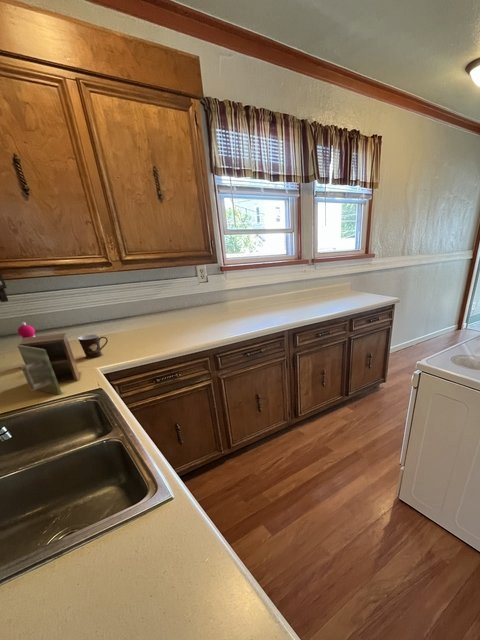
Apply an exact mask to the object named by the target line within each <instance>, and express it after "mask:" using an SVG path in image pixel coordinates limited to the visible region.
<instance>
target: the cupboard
mask: <svg viewBox="0 0 480 640" xmlns="http://www.w3.org/2000/svg"><path fill="white" fill-rule="evenodd" d="M19 345H22V346H28V347H34V348H40V349H45V350H46V352H47V355H48V358H49V360H50V363H51V366H52V368H53V371H54V374H55V376H56V379H57V382H58V384H59V385H61V384H67V383H73V382H79V378H80V372H79V368H78V366H77V362H76V359H75V356H74V354H73V351H72V348H71V345H70V342H69V340H68V336H67V333H66V332H64V333H56V334H55V333H54V334H46V335H38V336H35V337H28V338H24V339H23V340H22V339H21V341H20V342H19V344H18V346H19Z"/></svg>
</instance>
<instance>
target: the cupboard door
mask: <svg viewBox="0 0 480 640" xmlns="http://www.w3.org/2000/svg"><path fill="white" fill-rule="evenodd" d="M17 348H18V351H19V353H20V355H21V358H22V361H23V362H24V365H21V366H20V368H21V371H22V373H23V375H24V378H25V380H26V383H27V384H28V387H29V389H30V391H36V390H37V391H43V392H47V393H50V394H56V395H62V394H63V393H62V390H61V387H60V384H58V382H57V379H56V376H55V374H54V371H53V368H52V366H51V363H50V360H49V358H48V355H47V352H46V350H45V349H40V348H34V347H28V346H22V345H19V344H18V345H17Z"/></svg>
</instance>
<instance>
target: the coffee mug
mask: <svg viewBox="0 0 480 640" xmlns="http://www.w3.org/2000/svg"><path fill="white" fill-rule="evenodd" d="M101 339H105V343H104V344H103V345H102V346H101V344H100V342H101ZM77 340H78V342H79V344H80V346H81V349H82V351H83V353H84V355H85V357H86V358H87V359H96V358H99V357H102V349H103V348H104V347H106V345H107V343H108V338H107V337H106V336H100V337H99V335H98V334H85V335H82V336H78V337H77Z"/></svg>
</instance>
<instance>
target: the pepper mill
mask: <svg viewBox="0 0 480 640" xmlns="http://www.w3.org/2000/svg"><path fill="white" fill-rule="evenodd" d="M20 325H21V326H19V327H18V328H17V334H18V335H19V336H20V337H21V341H22V340H23V339H24V338H28V337H36V335H35V334H36V330H35V328H34V327H32V326H31V325H28V324H27V323H26V322H25V321H22V322H20Z"/></svg>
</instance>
